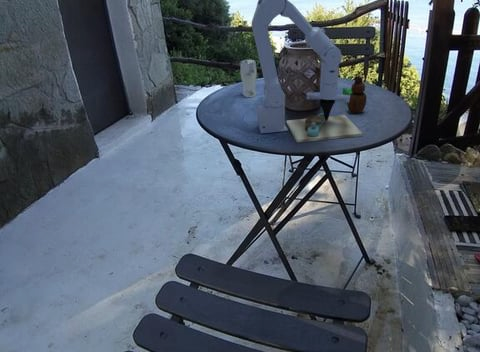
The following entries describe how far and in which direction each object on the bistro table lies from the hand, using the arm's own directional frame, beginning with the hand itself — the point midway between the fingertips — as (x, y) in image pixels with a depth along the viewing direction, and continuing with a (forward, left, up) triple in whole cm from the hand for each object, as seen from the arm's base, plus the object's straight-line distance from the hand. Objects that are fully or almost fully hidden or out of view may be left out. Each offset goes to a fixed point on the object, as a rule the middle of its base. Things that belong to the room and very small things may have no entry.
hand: (326, 119), depth 132 cm
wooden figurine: (+14, +9, -2) cm, 17 cm away
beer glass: (-23, +40, -2) cm, 46 cm away
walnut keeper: (-6, -5, -1) cm, 8 cm away
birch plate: (-3, -4, -2) cm, 5 cm away
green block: (+16, +20, -2) cm, 26 cm away
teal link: (-5, -5, 0) cm, 7 cm away
